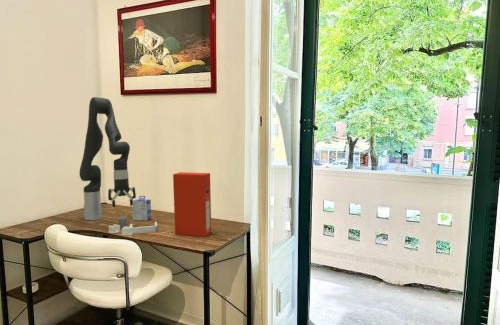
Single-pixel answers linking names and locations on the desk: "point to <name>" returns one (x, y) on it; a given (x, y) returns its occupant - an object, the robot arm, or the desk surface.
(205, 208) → the file binder
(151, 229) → the bracket
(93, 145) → the robot arm
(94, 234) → the desk surface
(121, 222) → the connector
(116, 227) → the clip
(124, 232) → the clip
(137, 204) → the ink cartridge box
